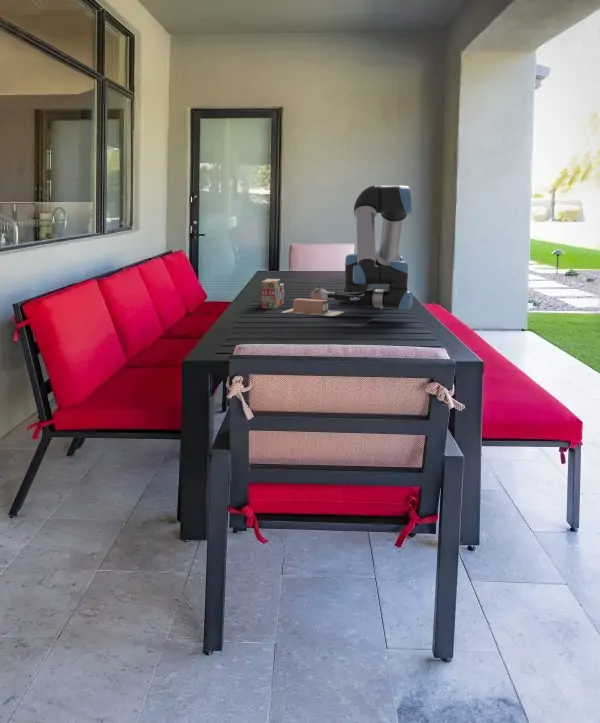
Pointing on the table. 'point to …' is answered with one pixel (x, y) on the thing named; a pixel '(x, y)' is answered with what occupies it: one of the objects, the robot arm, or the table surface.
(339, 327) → the table surface
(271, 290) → the stack of blocks
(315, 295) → the decorative fruit
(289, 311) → the board
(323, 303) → the block
